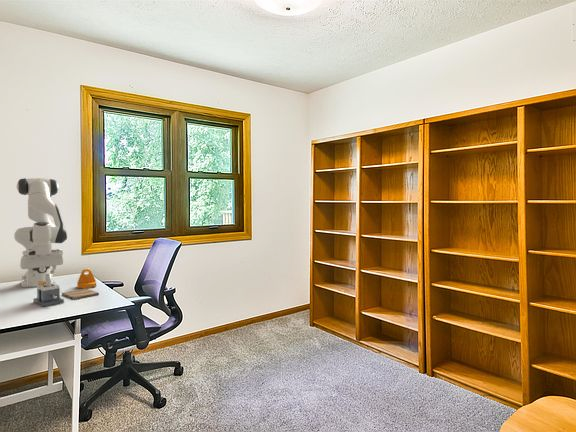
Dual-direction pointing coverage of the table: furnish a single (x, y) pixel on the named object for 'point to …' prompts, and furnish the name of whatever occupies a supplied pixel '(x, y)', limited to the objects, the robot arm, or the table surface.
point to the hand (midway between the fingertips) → (42, 274)
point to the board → (80, 294)
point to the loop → (43, 286)
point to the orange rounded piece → (86, 280)
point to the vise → (48, 295)
